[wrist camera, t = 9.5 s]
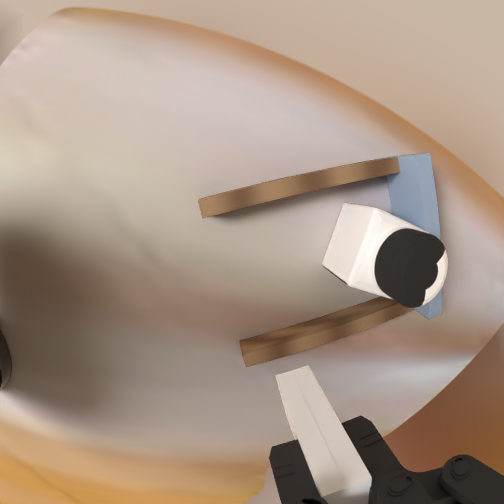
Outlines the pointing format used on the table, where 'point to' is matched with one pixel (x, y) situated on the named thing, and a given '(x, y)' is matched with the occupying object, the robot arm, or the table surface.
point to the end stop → (417, 206)
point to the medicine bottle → (386, 256)
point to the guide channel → (328, 325)
